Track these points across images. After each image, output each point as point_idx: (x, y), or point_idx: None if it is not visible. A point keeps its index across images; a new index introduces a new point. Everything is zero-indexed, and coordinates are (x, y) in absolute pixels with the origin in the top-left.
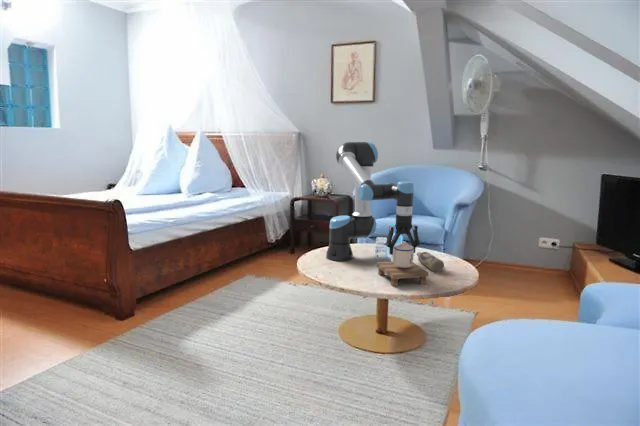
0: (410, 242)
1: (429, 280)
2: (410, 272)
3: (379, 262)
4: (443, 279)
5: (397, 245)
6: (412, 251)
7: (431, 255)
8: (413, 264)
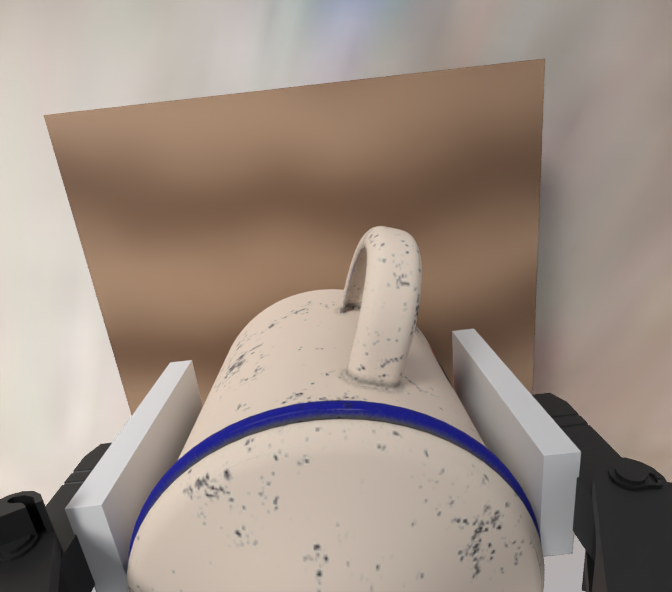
0: (599, 549)
1: (545, 350)
2: None
3: (83, 127)
4: (669, 338)
5: None
6: None
7: None
8: (501, 259)
